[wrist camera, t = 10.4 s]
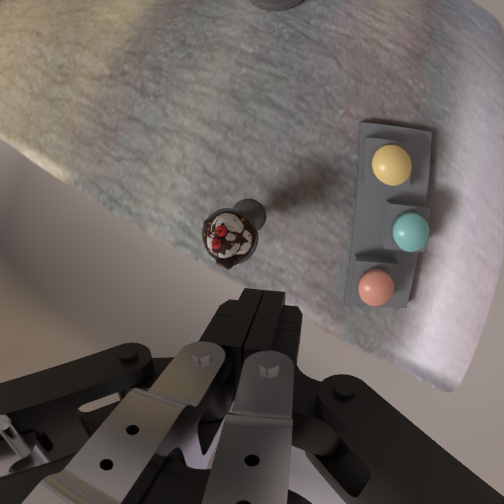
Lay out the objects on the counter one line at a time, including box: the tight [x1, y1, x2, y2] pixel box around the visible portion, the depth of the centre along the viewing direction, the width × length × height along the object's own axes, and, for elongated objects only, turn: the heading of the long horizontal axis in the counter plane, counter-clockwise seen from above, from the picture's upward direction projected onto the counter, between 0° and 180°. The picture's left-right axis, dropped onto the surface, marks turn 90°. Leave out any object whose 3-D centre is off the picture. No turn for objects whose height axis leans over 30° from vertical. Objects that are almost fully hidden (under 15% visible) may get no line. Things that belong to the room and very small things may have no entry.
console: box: [344, 122, 432, 308], centre depth 39 cm, size 26×10×4 cm, turn 0°
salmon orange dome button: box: [358, 268, 394, 306], centre depth 40 cm, size 5×5×4 cm
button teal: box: [392, 212, 430, 252], centre depth 37 cm, size 5×5×4 cm
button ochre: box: [371, 145, 412, 186], centre depth 35 cm, size 5×5×4 cm
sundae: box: [202, 199, 265, 269], centre depth 38 cm, size 7×7×15 cm
